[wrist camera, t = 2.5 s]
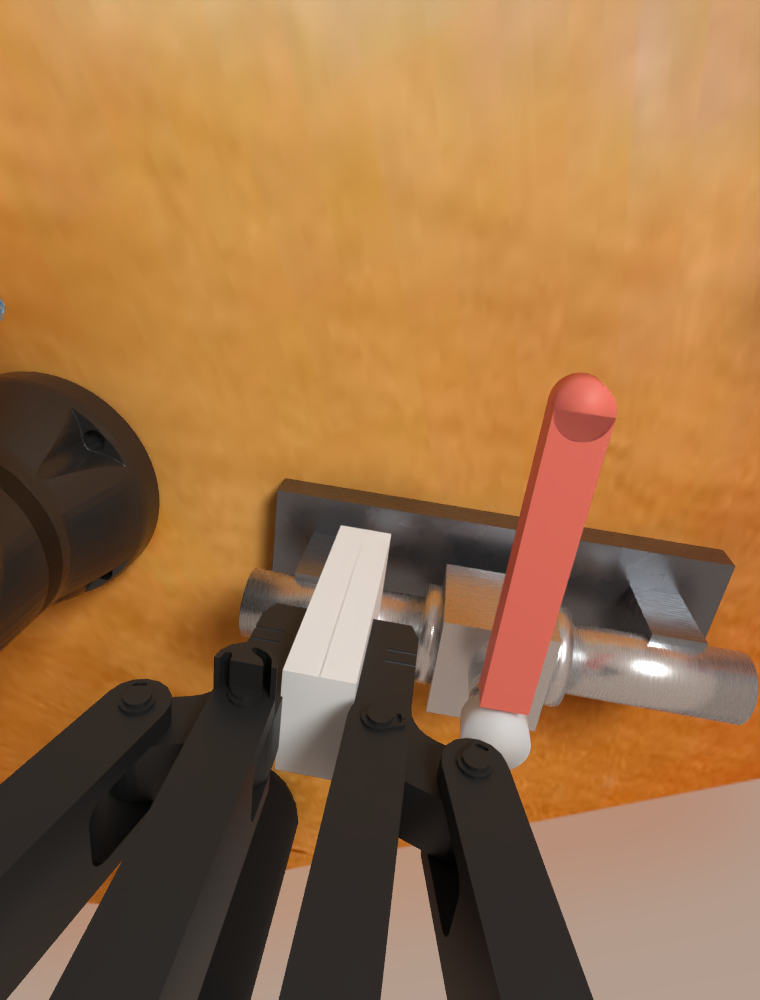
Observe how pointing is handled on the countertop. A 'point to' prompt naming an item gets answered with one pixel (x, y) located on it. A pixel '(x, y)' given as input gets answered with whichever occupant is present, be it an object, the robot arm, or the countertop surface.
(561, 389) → the valve lever
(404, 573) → the valve stand
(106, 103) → the countertop surface
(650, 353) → the countertop surface
